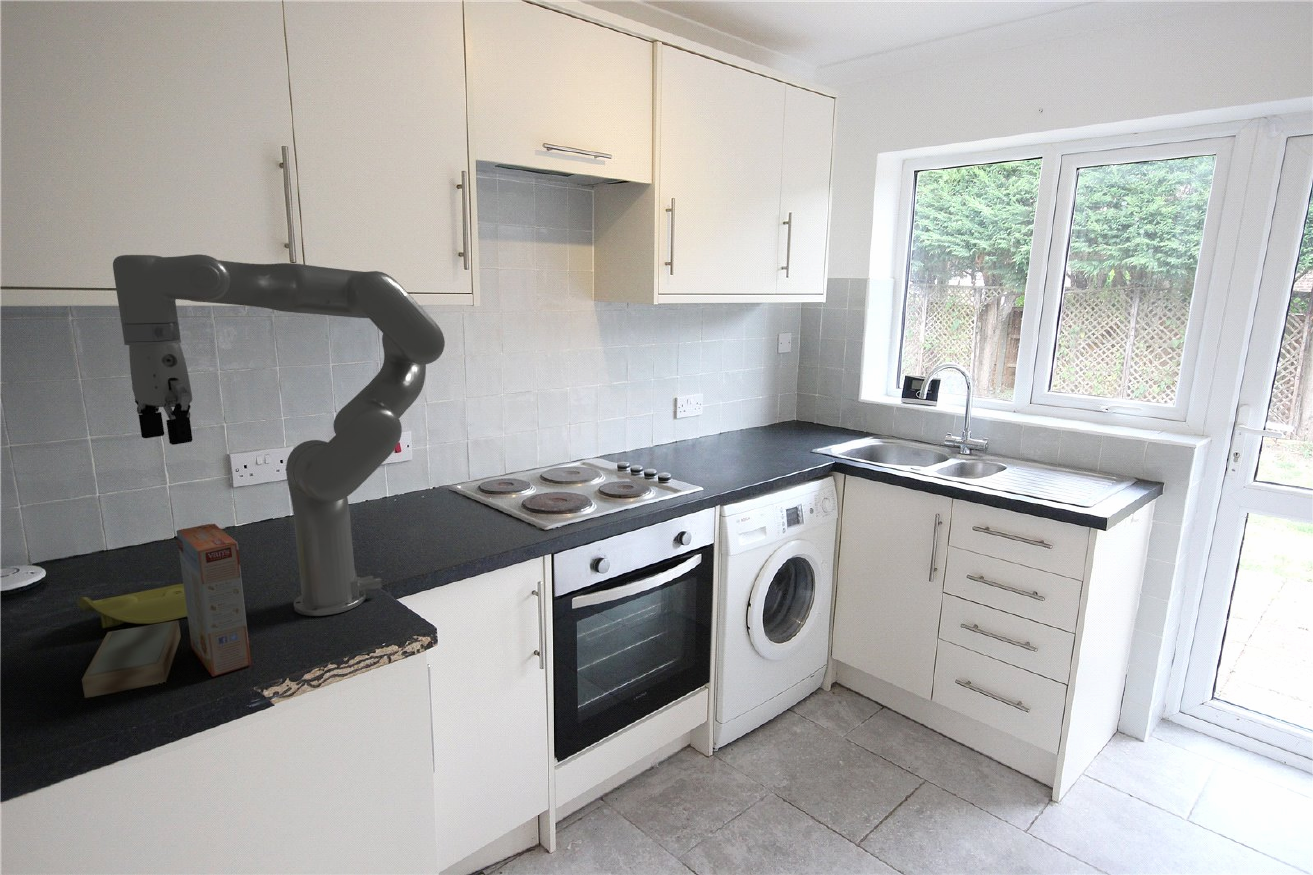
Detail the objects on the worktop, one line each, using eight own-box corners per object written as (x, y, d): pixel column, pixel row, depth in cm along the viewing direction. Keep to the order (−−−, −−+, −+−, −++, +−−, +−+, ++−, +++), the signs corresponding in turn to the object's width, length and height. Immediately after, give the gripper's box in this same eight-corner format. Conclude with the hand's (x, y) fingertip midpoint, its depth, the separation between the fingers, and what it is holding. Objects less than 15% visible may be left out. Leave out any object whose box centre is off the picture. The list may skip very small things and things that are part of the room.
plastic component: (196, 581, 145) (212, 570, 139) (203, 617, 144) (220, 608, 138) (71, 606, 130) (83, 595, 124) (78, 646, 129) (91, 638, 123)
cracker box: (254, 665, 116) (239, 541, 112) (211, 679, 112) (194, 550, 108) (230, 636, 126) (215, 521, 122) (190, 648, 122) (173, 529, 118)
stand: (180, 636, 127) (178, 619, 126) (165, 682, 112) (162, 663, 111) (110, 648, 122) (107, 631, 122) (85, 698, 107) (81, 678, 107)
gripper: (203, 335, 115) (217, 441, 118) (153, 332, 124) (167, 431, 127) (150, 337, 108) (166, 450, 112) (101, 334, 118) (117, 438, 121)
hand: (167, 439), depth 120 cm, fingers open, 9 cm apart
